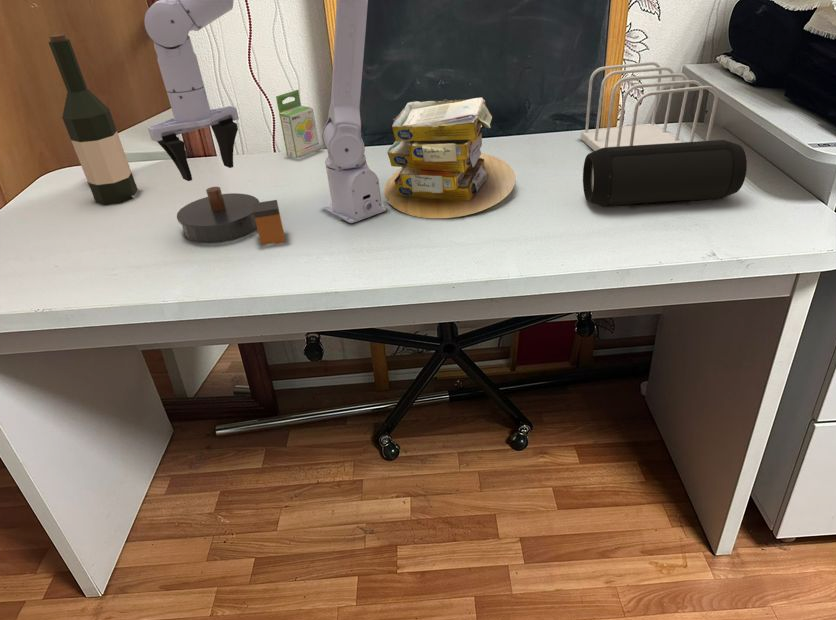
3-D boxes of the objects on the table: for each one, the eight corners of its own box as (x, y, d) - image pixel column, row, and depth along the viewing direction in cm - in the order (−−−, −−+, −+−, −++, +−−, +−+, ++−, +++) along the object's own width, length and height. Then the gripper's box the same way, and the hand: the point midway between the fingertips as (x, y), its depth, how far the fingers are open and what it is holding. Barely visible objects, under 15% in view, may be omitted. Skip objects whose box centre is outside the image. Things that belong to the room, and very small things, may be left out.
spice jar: (284, 234, 108) (276, 199, 104) (285, 244, 105) (278, 208, 101) (261, 238, 107) (252, 203, 104) (261, 248, 104) (253, 212, 100)
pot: (274, 228, 110) (270, 210, 108) (204, 253, 104) (198, 234, 102) (241, 208, 119) (237, 191, 117) (174, 230, 112) (169, 212, 110)
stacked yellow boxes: (479, 227, 106) (478, 128, 96) (360, 206, 116) (348, 114, 107) (533, 178, 123) (537, 89, 113) (425, 163, 133) (420, 81, 124)
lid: (270, 197, 115) (264, 172, 112) (247, 230, 103) (240, 204, 101) (195, 200, 116) (188, 175, 113) (165, 233, 104) (156, 206, 102)
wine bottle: (123, 205, 123) (61, 39, 106) (86, 204, 125) (19, 40, 107) (146, 189, 130) (92, 30, 112) (111, 188, 131) (52, 31, 114)
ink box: (298, 160, 139) (287, 98, 132) (286, 158, 142) (274, 96, 134) (321, 151, 144) (310, 90, 136) (309, 149, 146) (298, 88, 138)
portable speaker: (717, 186, 115) (729, 131, 109) (740, 207, 106) (755, 149, 101) (579, 195, 115) (584, 140, 109) (592, 217, 107) (598, 159, 101)
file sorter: (579, 139, 140) (586, 65, 131) (653, 132, 142) (664, 58, 133) (624, 178, 120) (635, 94, 111) (709, 169, 122) (726, 84, 113)
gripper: (151, 102, 91) (179, 191, 99) (239, 81, 99) (258, 165, 107) (132, 95, 95) (160, 181, 103) (217, 76, 103) (237, 157, 111)
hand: (208, 172), depth 105 cm, fingers open, 7 cm apart
